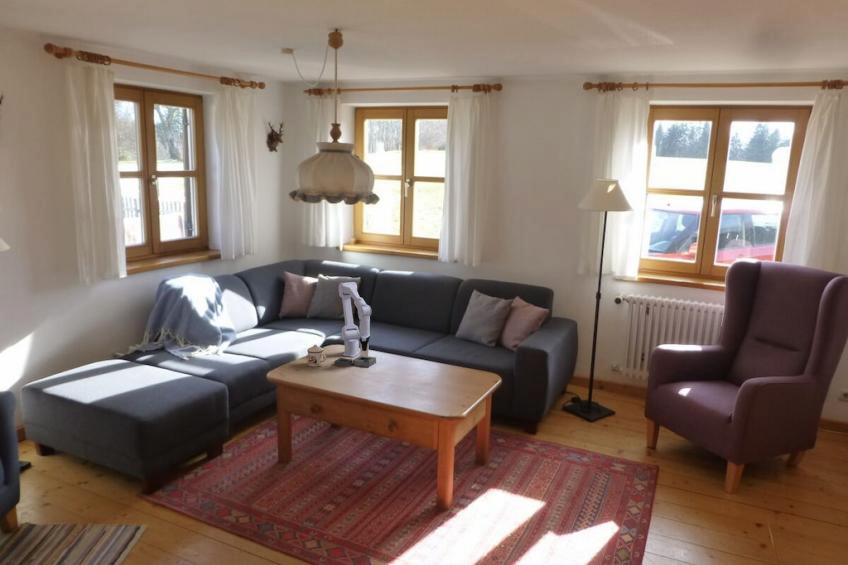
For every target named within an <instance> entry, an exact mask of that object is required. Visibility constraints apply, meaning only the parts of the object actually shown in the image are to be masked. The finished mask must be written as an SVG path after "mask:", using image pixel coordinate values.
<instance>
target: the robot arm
mask: <svg viewBox="0 0 848 565" xmlns="http://www.w3.org/2000/svg"><path fill="white" fill-rule="evenodd" d="M337 289H338V294H339V297H340V298H341V301H342V309H343V318H344V326H342V328H341V334H340V335H341V336H340V337H341V339H342V340H343V341H344V353H342V354H341V356H343V357H349V358H350V357H351V358H354V357H356V356H359V355H360V344H361V346H362V350H363V351H366V350H367V344H369V342H370V339H371V333H370V332H371V331H370V328H371V326H370V324H371V318H370V317H371V316H372V313H373V312H372V311H373V310H372V307H371V306H370V305H368V304H367V303H366V301H365V300H364V298H363V297H360V295H359V292H358V285H357V282H355V281H351V282H340V283H339V284H338V288H337ZM351 298H352V300H353V301H354V302H353V304H354V305H355V307H356V308H357V315H358V319H359V327H358V325H356V324H354V318H353V308H352V302H351V301H352V300H351Z"/></svg>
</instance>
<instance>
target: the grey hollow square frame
mask: <svg viewBox="0 0 848 565" xmlns="http://www.w3.org/2000/svg"><path fill="white" fill-rule="evenodd" d="M353 360H354V359H351V358H345V357H339V358H338V359H335V360H334V361H333V362H334V364H333V365H334V366H336V367H337V366H338V367H342V366H343V368H347V367H350V366H351V365H353ZM349 365H350V366H349Z"/></svg>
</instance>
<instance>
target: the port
mask: <svg viewBox="0 0 848 565" xmlns="http://www.w3.org/2000/svg"><path fill="white" fill-rule="evenodd" d="M376 363H377V357H376V356H375V357H374V356H368V357H360V355H358V357H356V358H354V359H353V364H352V366H356V367H362V368H368V369H369V368H370V367H371V366H373V365H375V364H376Z"/></svg>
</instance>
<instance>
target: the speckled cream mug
mask: <svg viewBox="0 0 848 565" xmlns="http://www.w3.org/2000/svg"><path fill="white" fill-rule="evenodd" d="M326 361H327V355H326V354H325V353H324V349H323V348H322V347H320V346H318V344H313V345H312V347H309V348H307V365H308V366H309V367H315V368H316V367H317V368H318V367H321V366H323V365H324V362H326Z"/></svg>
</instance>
